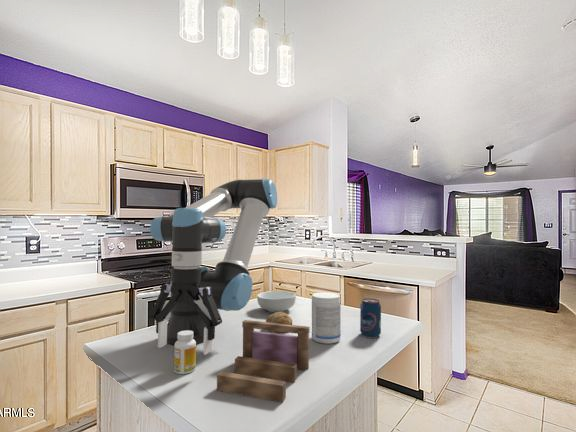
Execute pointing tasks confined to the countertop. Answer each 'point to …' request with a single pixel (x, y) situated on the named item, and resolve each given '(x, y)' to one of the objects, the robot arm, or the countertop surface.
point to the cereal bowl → (276, 300)
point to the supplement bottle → (185, 353)
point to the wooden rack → (267, 361)
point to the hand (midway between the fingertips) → (184, 349)
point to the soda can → (370, 318)
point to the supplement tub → (326, 317)
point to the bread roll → (279, 320)
